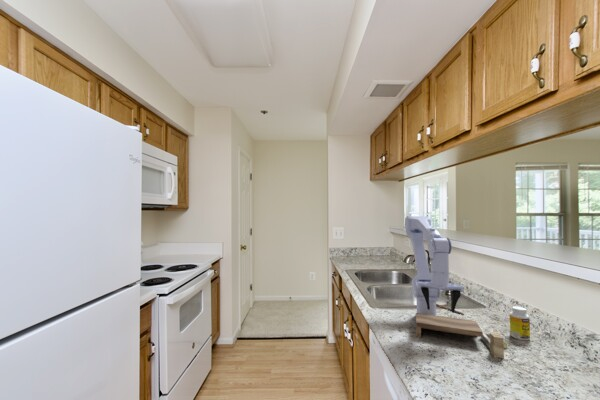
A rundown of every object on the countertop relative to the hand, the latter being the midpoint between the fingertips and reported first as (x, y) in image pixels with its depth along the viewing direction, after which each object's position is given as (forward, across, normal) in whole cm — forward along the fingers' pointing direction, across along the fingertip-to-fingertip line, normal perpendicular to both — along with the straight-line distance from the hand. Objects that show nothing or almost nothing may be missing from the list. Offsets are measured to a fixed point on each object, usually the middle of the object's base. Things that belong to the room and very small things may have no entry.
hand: (440, 310), depth 97 cm
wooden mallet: (+9, +15, -2) cm, 17 cm away
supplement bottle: (+10, +26, +11) cm, 30 cm away
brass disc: (+10, +17, +1) cm, 20 cm away
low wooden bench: (+9, +2, +2) cm, 10 cm away
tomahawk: (+10, +3, +35) cm, 37 cm away
